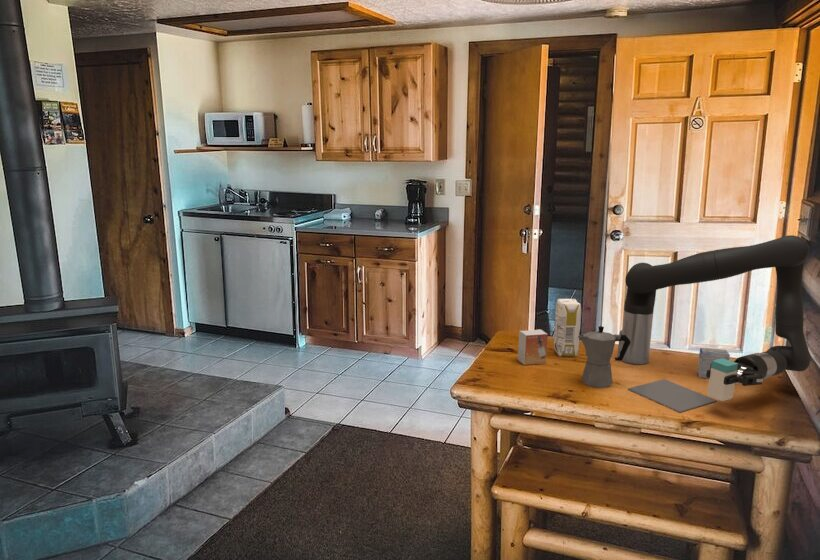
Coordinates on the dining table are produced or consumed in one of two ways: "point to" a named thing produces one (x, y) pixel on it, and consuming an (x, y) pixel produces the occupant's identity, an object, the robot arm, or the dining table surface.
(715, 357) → the medicine box
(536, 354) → the small box
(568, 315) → the juice carton
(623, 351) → the coffeepot
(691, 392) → the board
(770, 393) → the dining table surface
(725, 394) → the block
